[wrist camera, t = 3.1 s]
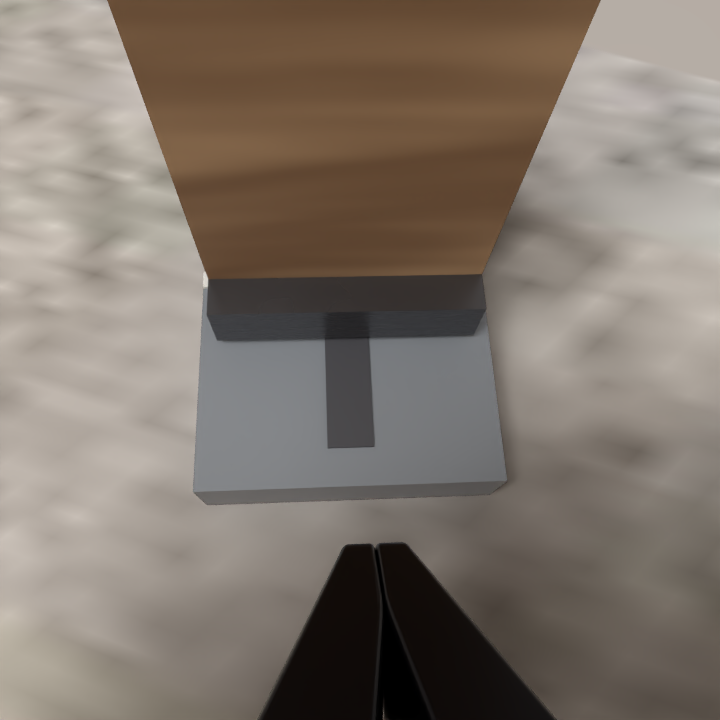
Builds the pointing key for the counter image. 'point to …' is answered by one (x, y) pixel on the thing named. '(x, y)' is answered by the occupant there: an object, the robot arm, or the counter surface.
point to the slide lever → (348, 149)
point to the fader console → (346, 418)
